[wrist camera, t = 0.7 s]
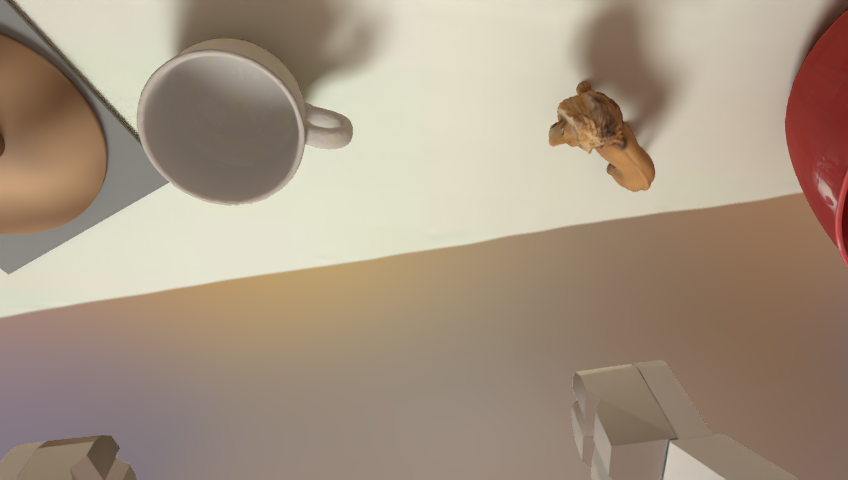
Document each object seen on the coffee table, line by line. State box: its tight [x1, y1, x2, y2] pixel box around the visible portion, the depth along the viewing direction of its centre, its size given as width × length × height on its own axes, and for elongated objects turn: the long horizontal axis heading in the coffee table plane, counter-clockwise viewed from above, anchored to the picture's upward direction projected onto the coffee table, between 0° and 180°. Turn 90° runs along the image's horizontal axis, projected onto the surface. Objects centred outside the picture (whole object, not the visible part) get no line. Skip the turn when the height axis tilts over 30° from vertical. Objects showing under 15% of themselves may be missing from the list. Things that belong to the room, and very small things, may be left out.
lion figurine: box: [549, 82, 655, 192], centre depth 45 cm, size 15×5×9 cm, turn 53°
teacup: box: [137, 38, 353, 205], centre depth 40 cm, size 14×11×8 cm
